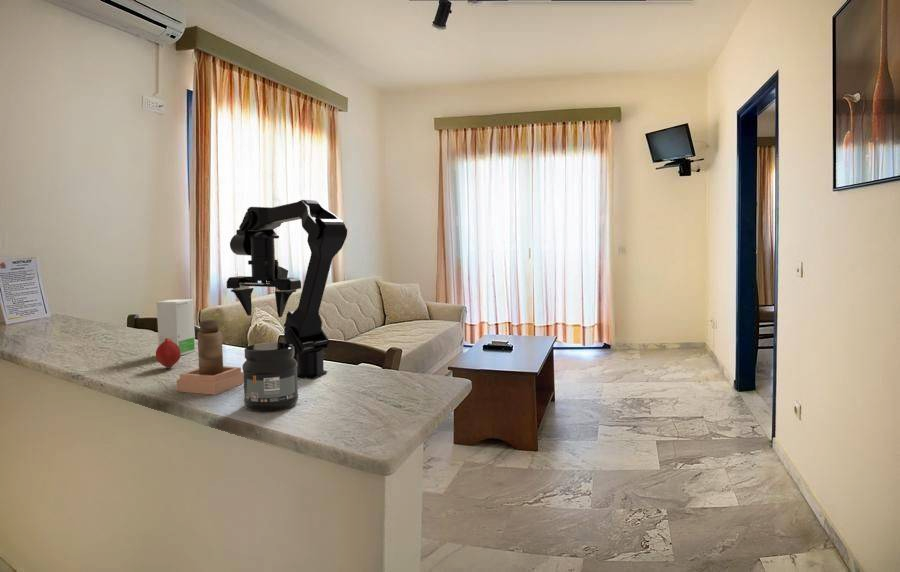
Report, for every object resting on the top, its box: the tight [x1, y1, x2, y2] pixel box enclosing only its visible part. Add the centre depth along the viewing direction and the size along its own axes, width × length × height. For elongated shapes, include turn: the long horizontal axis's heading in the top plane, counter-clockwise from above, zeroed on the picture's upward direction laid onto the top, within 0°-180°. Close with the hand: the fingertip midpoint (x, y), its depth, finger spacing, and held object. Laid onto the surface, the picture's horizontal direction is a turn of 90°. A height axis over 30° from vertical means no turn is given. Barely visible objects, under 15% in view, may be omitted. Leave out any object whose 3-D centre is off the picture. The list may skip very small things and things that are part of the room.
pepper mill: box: [196, 319, 224, 376], centre depth 125 cm, size 5×5×12 cm
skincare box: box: [156, 298, 197, 356], centre depth 161 cm, size 8×7×16 cm
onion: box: [155, 338, 182, 369], centre depth 144 cm, size 6×6×8 cm
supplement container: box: [241, 341, 299, 413], centre depth 112 cm, size 10×10×12 cm
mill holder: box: [175, 365, 244, 396], centre depth 126 cm, size 10×10×4 cm
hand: (264, 316), depth 145 cm, fingers open, 9 cm apart
